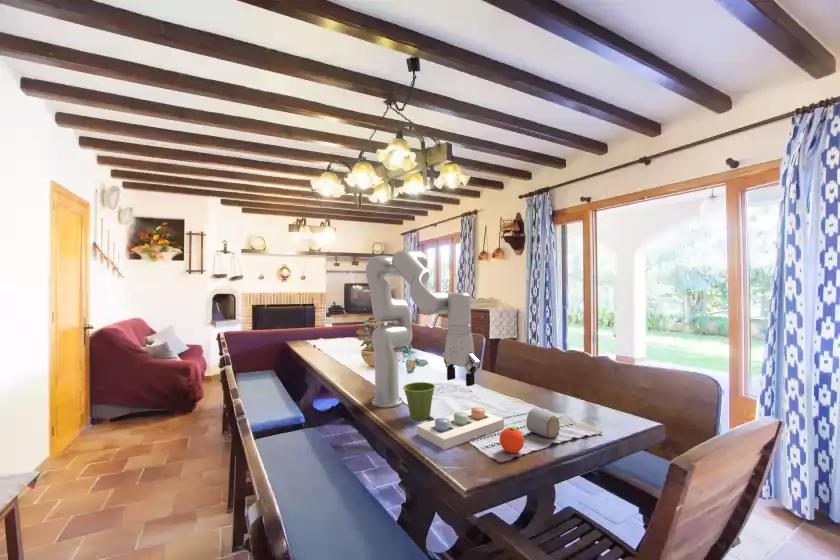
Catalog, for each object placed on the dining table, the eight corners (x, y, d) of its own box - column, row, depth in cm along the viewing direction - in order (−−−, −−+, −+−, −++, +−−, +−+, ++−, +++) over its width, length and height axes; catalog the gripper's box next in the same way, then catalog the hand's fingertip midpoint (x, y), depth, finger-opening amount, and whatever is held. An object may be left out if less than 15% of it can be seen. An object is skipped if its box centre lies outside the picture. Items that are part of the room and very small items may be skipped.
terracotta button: (468, 418, 132) (468, 409, 132) (478, 415, 135) (478, 406, 135) (478, 422, 128) (478, 412, 128) (487, 419, 131) (487, 409, 131)
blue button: (432, 429, 123) (432, 419, 123) (443, 426, 125) (443, 416, 125) (441, 434, 119) (441, 424, 119) (452, 430, 122) (452, 420, 122)
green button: (451, 423, 127) (451, 414, 127) (461, 420, 130) (461, 411, 130) (460, 428, 124) (460, 418, 124) (470, 424, 126) (470, 415, 126)
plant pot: (423, 409, 149) (423, 380, 149) (442, 418, 139) (441, 387, 139) (397, 415, 142) (397, 385, 142) (415, 425, 132) (414, 393, 132)
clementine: (508, 443, 117) (507, 420, 117) (529, 449, 113) (529, 425, 113) (495, 452, 111) (495, 428, 111) (517, 459, 107) (517, 434, 107)
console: (416, 434, 125) (416, 425, 125) (474, 416, 140) (474, 408, 140) (444, 449, 114) (444, 439, 114) (503, 428, 129) (503, 419, 129)
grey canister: (548, 442, 118) (548, 417, 118) (525, 433, 124) (525, 410, 124) (566, 433, 125) (566, 409, 125) (544, 425, 131) (544, 403, 131)
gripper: (434, 328, 131) (435, 378, 131) (469, 334, 117) (470, 390, 117) (450, 326, 136) (451, 375, 136) (486, 331, 122) (487, 386, 122)
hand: (460, 382), depth 127 cm, fingers open, 8 cm apart
